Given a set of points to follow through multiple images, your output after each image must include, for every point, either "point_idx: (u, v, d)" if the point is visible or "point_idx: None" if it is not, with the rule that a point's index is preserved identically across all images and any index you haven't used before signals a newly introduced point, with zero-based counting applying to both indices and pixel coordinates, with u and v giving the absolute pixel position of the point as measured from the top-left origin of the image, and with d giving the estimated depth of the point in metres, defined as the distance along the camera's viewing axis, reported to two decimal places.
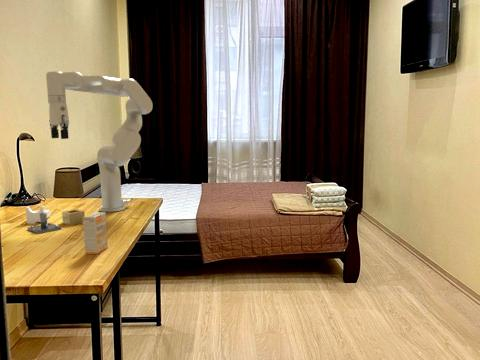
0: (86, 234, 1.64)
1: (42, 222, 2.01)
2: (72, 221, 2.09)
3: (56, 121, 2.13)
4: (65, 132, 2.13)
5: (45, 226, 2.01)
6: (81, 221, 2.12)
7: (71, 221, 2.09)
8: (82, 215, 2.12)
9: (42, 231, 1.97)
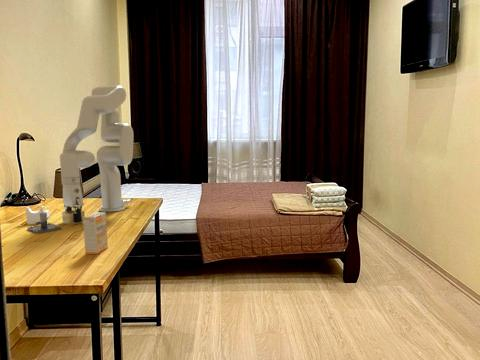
0: (86, 234, 1.64)
1: (42, 222, 2.01)
2: (72, 221, 2.09)
3: (70, 204, 2.09)
4: (78, 216, 2.10)
5: (45, 226, 2.01)
6: (81, 221, 2.12)
7: (71, 221, 2.09)
8: (82, 215, 2.12)
9: (42, 231, 1.97)
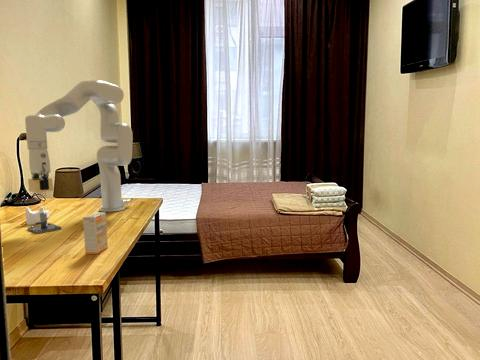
0: (86, 234, 1.64)
1: (42, 222, 2.01)
2: (38, 189, 1.95)
3: (36, 170, 1.95)
4: (45, 183, 1.96)
5: (45, 226, 2.01)
6: (48, 189, 1.98)
7: (37, 188, 1.95)
8: (49, 182, 1.99)
9: (42, 231, 1.97)
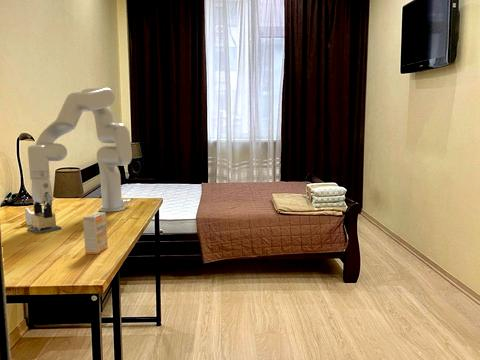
0: (86, 234, 1.64)
1: None
2: (41, 224, 1.98)
3: (39, 199, 1.97)
4: (48, 211, 1.97)
5: None
6: (51, 224, 2.01)
7: (40, 224, 1.97)
8: (53, 218, 2.01)
9: (42, 231, 1.97)
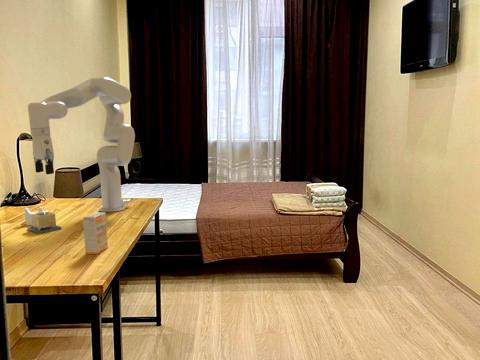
0: (86, 234, 1.64)
1: None
2: (41, 224, 1.98)
3: (40, 156, 2.00)
4: (50, 167, 2.00)
5: None
6: (51, 224, 2.01)
7: (40, 224, 1.97)
8: (53, 218, 2.01)
9: (42, 231, 1.97)
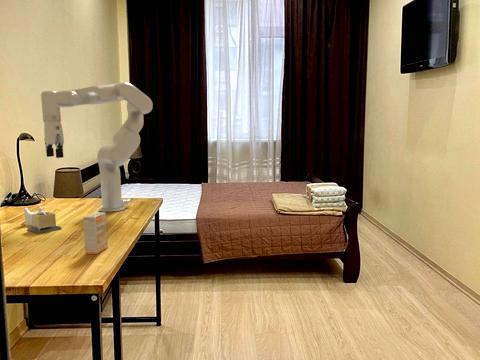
0: (86, 234, 1.64)
1: None
2: (41, 224, 1.98)
3: (51, 141, 2.15)
4: (60, 151, 2.15)
5: None
6: (51, 224, 2.01)
7: (40, 224, 1.97)
8: (53, 218, 2.01)
9: (42, 231, 1.97)
